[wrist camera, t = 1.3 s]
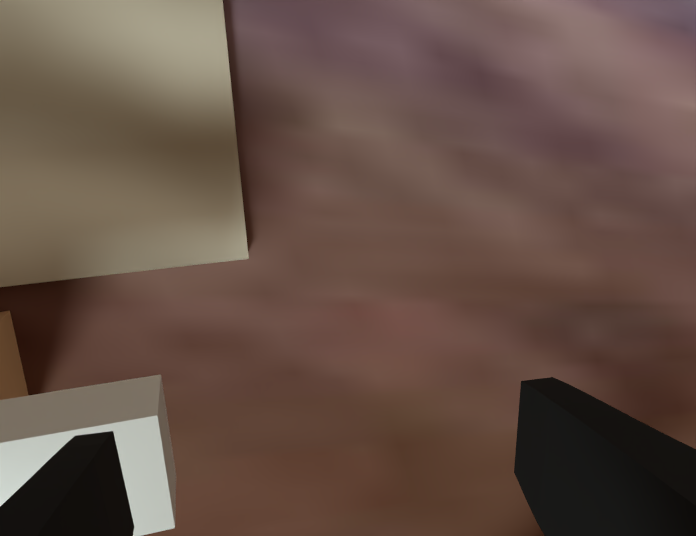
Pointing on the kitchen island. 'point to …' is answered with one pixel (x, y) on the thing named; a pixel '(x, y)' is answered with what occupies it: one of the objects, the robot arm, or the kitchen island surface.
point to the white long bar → (95, 417)
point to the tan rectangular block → (10, 361)
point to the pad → (115, 139)
